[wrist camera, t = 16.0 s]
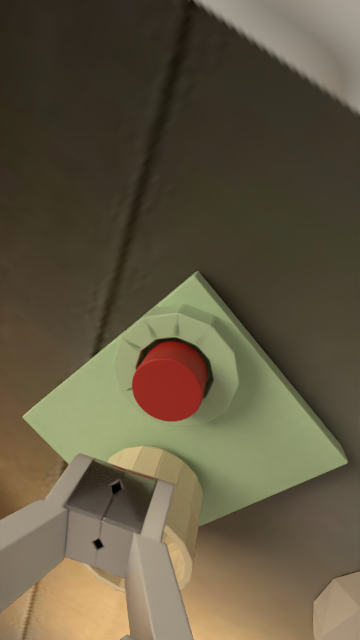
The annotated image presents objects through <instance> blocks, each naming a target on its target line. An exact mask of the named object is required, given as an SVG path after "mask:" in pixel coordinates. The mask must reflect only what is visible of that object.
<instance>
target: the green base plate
mask: <svg viewBox="0 0 360 640" xmlns="http://www.w3.org/2000/svg"><path fill="white" fill-rule="evenodd" d="M168 341H178V342H182V343H185V344H187V345H190V346H191V347H193V348H194V349H195V350H197V351H198V352H199V353H200V355H201V356H202V357H203V359H204V361H205V363H206V366H207V381H206V385H205V389H204V394H203V398H202V402H201V405H200V407H199V408H198V410H197V411H196V412H195V413H194V414H193V415H192V416H190V417H188V418H187V419H184V420H181V421H175V422H168V421H162V420H159V419H156V418H154V417H152V416H150V415H149V414H147V413H146V412H145V411H144V410H143V409H142V408H141V407H140V406H139V405H138V403H137V402H136V400H135V398H134V395H133V391H132V379H133V376H134V373H135V372H136V370H137V368H138V367H139V366H140V364H141V363H142V361H143V360H144V358H145V357H146V356H147V354H148V353H149V351H150V350H151V349H152V348H153V347H155V346H156V345H158V344H160V343H163V342H168ZM23 418H24V419H25V420H26V421H27V422H28V423H29V424H30V425H31V426H32V428H33V429H34V430H35V431H36V432H37V433H38V434H39V435H40V436H41V437H42V438H43V439H44V440H45V441H46V442H47V443H48V444H49V445H50V446H51V447H52V448H53V449H54V450H55V451H56V452H57V453H58V454H59V455H60V456H61V457H62V458H63V459H64V460H65V461H66V462H67V463H68V464H70V463H71V461H72V460H73V458H74V457H75V456H76V455H78V454H79V453H81V454H84V455H87V456H90V457H93V458H96V459H99V460H102V461H105V462H108V460H109V459H110V457H111V456H113V455H115V454H116V453H118V452H119V451H121V450H123V449H125V448H131V447H138V446H151V447H157V448H161V449H164V450H166V451H168V452H171V453H173V454H174V455H176V456H177V457H179V458H180V459H181V460H183V461H184V462H185V463H186V464H187V465H188V466H189V467H190V469H191V470H192V471H193V472H194V473H195V474H196V476H197V477H198V480H199V483H200V485H201V488H202V491H203V500H202V507H201V514H200V521H199V526H202V525H204V524H206V523H209V522H211V521H213V520H216V519H218V518H220V517H223V516H225V515H227V514H230V513H232V512H234V511H237V510H239V509H241V508H244V507H246V506H249V505H251V504H253V503H256V502H258V501H260V500H263V499H265V498H267V497H270V496H272V495H274V494H277V493H279V492H281V491H284V490H286V489H288V488H291V487H293V486H295V485H298V484H300V483H303V482H305V481H307V480H310V479H312V478H314V477H317V476H319V475H321V474H324V473H326V472H328V471H331V470H333V469H335V468H338V467H340V466H342V465H345V464H347V463H348V460H347V458H346V456H345V453H344V451H343V449H342V446H341V444H340V443H339V442H338V441H337V440H336V438H335V437H334V436H333V435H332V433H331V432H330V431H329V430H328V429H327V427H326V426H325V425H324V424H323V422H322V421H321V420H320V419H319V418H318V416H317V415H316V414H315V413H314V412H313V410H312V409H311V408H310V407H309V405H308V404H307V403H306V402H305V401H304V399H303V398H302V397H301V396H300V394H299V393H298V392H297V391H296V390H295V388H294V387H293V386H292V385H291V383H290V382H289V381H288V380H287V379H286V377H285V376H284V375H283V374H282V372H281V371H280V370H279V369H278V368H277V366H276V365H275V364H274V363H273V361H272V360H271V359H270V358H269V357H268V355H267V354H266V353H265V352H264V351H263V349H262V348H261V347H260V346H259V344H258V343H257V342H256V341H255V340H254V338H253V337H252V336H251V335H250V333H249V332H248V331H247V330H246V329H245V327H244V326H243V325H242V324H241V322H240V321H239V320H238V319H237V318H236V316H235V315H234V314H233V313H232V311H231V310H230V309H229V308H228V307H227V305H226V304H225V303H224V302H223V301H222V299H221V298H220V297H219V296H218V294H217V293H216V292H215V291H214V290H213V288H212V287H211V286H210V285H209V283H208V282H207V281H206V280H205V279H204V277H203V276H202V275H201V274H200V272H198V271H197V272H195V273H194V274H193V275H192V276H191V277H189V278H188V279H187V280H186V281H185V282H183V283H182V284H181V285H180V286H178V287H177V288H176V289H175V290H174V291H172V292H171V293H170V294H169V295H168V296H166V297H165V298H164V299H163V300H162V301H160V302H159V303H158V304H157V305H156V306H154V307H153V308H152V309H151V310H150V311H148V312H147V313H146V314H145V315H143V316H142V317H141V318H140V319H139V320H137V321H136V322H135V323H134V324H133V325H131V326H130V327H129V328H128V329H127V330H125V331H124V332H123V333H122V334H121V335H119V336H118V337H117V338H116V339H114V340H113V341H112V342H111V343H110V344H108V345H107V346H106V347H105V348H104V349H102V350H101V351H100V352H99V353H98V354H96V355H95V356H94V357H93V358H92V359H90V360H89V361H88V362H87V363H85V364H84V365H83V366H82V367H81V368H79V369H78V370H77V371H76V372H75V373H73V374H72V375H71V376H70V377H69V378H67V379H66V380H65V381H64V382H63V383H61V384H60V385H59V386H58V387H57V388H55V389H54V390H53V391H52V392H50V393H49V394H48V395H47V396H46V397H44V398H43V399H42V400H41V401H40V402H38V403H37V404H36V405H35V406H34V407H33V408H31V409H30V410H29V411H28V412H27V413H26V414H25V415H24V416H23Z"/></svg>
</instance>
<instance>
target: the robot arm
mask: <svg viewBox="0 0 360 640" xmlns="http://www.w3.org/2000/svg"><path fill="white" fill-rule="evenodd" d="M174 489H175V484H173V483H170V482H167V481H164V480H161V479H159V480H158V478H156V477H152V476H149V475H146V474H143V473H139V472H136V471H133V470H130V469H125V468H122V467H119V466H116V465H113V464H110V463H108V462H105V461H102V460H99V459H96V458H93V457H90V456H87V455H84V454H81V453H79V454H78V455H76V456H75V457H74V458H73V460H72V461H71V463H70V464H69V466H68V467H67V468H66V470H65V471H64V473H63V474H62V475H61V477H60V478H59V480H58V481H57V483H56V484H55V485H54V487H53V488H52V490H51V491H50V492H49V494H48V495H47V497H46V498H45V500H41V499H38V500H36V501H34V502H32V503H30V504H29V505H27V506H25V507H23V508H21V509H19V510H18V511H16V512H14V513H12V514H10V515H8V516H7V517H5V518H3V519H1V520H0V613H1V612H2V611H3V610H4V609H6V608H7V607H8V606H9V605H10V604H12V603H13V602H14V601H15V600H16V599H17V598H19V597H20V596H21V595H22V594H23V593H25V592H26V591H27V590H28V589H29V588H31V587H32V586H33V585H34V584H35V583H36V582H38V581H39V580H40V579H41V578H42V577H44V576H45V575H46V574H47V573H48V572H50V571H51V570H52V569H53V568H54V567H56V566H57V565H58V564H59V563H60V562H61V561H63V560H64V557H67V558H70V559H73V560H76V561H79V562H82V563H85V564H88V565H91V566H94V567H97V568H99V569H101V570H104V571H106V572H109V573H111V574H114V575H116V576H119V577H121V578H123V579H125V580H124V583H125V592H126V601H127V609H128V618H129V627H130V636H129V635H126V636H124V637H123V638H122V639H120V640H194V639H193V635H192V632H191V628H190V625H189V621H188V617H187V614H186V610H185V607H184V603H183V600H182V596H181V593H180V589H179V586H178V582H177V578H176V575H175V571H174V568H173V564H172V561H171V557H170V554H169V550H168V547H167V544H166V543H164V542H161V541H162V537H163V533H164V529H165V525H166V521H167V517H168V513H169V509H170V505H171V501H172V497H173V493H174Z"/></svg>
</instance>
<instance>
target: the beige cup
mask: <svg viewBox="0 0 360 640" xmlns="http://www.w3.org/2000/svg"><path fill="white" fill-rule="evenodd" d="M108 463H110V464H113V465H116V466H119V467H122V468H125V469H130V470H133V471H136V472H139V473H143V474H146V475H149V476H152V477H156V478H158V480H159V479H161V480H164V481H167V482H170V483H173V484H175V489H174V493H173V497H172V501H171V505H170V509H169V513H168V517H167V521H166V525H165V529H164V533H163V537H162V541H161V542H164V543H166V544H167V547H168V550H169V554H170V557H171V561H172V564H173V568H174V571H175V575H176V578H177V582H178V586H179V589H180V591H181V590H182V589H183V588H184V587H185V586H186V584H187V583H188V582H189V581H190V580H191V576H192V569H193V563H194V556H195V549H196V542H197V535H198V528H199V521H200V514H201V507H202V500H203V491H202V488H201V485H200V483H199V480H198V477H197V476H196V474H195V473H194V472H193V471H192V470H191V469H190V467H189V466H188V465H187V464H186V463H185V462H184V461H183V460H181V459H180V458H179V457H177V456H176V455H174V454H173V453H171V452H168V451H166V450H164V449H161V448H157V447H151V446H138V447H131V448H125V449H123V450H121V451H119V452H118V453H116V454H115V455H113V456H111V457H110V459H109V460H108ZM80 563H81V564H82V565H83V566H84V567H85V568H86V569H87V570H88V571H89V572H90V573H91V574H92V575H93V576H94V577H95V578H96V579H98V580H99V581H101V582H103V583H105V584H106V585H108V586H110V587H112V588H113V589H115V590H117V591H120V592H123V593H126V592H125V583H124V580H125V579H123V578H121V577H119V576H116V575H114V574H111V573H109V572H106V571H104V570H101V569H99V568H97V567H94V566H91V565H88V564H85V563H82V562H80Z"/></svg>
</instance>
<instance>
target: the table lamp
mask: <svg viewBox="0 0 360 640" xmlns="http://www.w3.org/2000/svg"><path fill="white" fill-rule="evenodd" d="M313 631H314V637H315V640H360V571H359V572H356V573H352V574H349V575H345V576H342V577H338V578H335V579H333V580H332V581H331V582H330V584H329V585H328V586H327V587H326V588H325V589H324V591H323V592H322V593H321V594H320V595H319V596H318V598H317V599H316V600H315V601H314V610H313Z"/></svg>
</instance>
